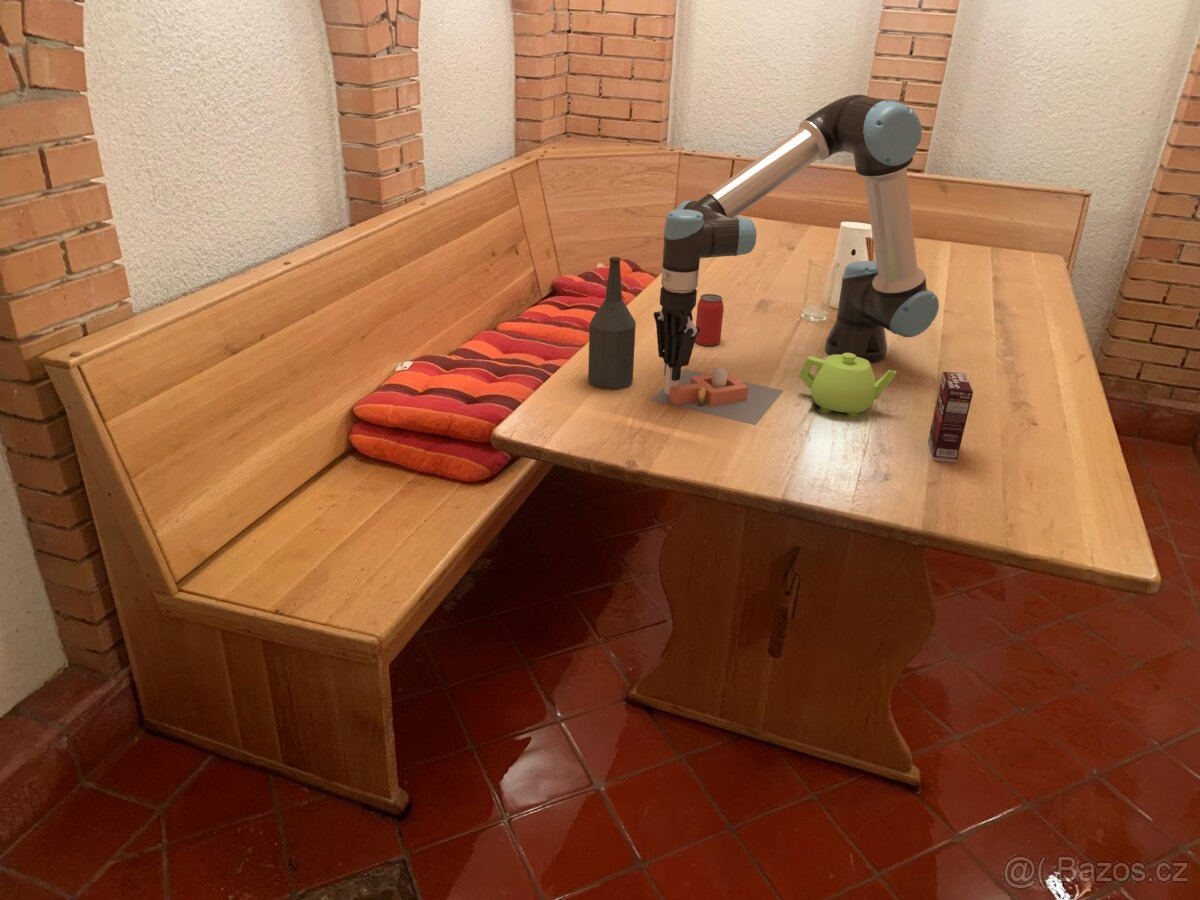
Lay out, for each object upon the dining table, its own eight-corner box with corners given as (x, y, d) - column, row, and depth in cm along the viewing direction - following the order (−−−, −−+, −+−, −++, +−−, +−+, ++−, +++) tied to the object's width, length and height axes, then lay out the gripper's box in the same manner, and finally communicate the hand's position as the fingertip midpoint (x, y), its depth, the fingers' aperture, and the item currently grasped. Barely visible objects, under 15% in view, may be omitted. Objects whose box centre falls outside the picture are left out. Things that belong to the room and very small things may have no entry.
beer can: (719, 348, 230) (723, 302, 225) (693, 345, 231) (696, 300, 226) (721, 338, 236) (725, 294, 230) (695, 336, 237) (699, 292, 231)
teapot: (889, 403, 203) (900, 350, 198) (885, 428, 192) (896, 373, 186) (800, 389, 209) (807, 337, 203) (791, 412, 198) (798, 358, 192)
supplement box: (926, 441, 187) (942, 370, 180) (950, 444, 186) (967, 373, 179) (931, 461, 180) (948, 387, 172) (957, 464, 179) (975, 390, 171)
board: (782, 396, 205) (786, 365, 201) (754, 431, 189) (758, 398, 185) (684, 374, 214) (686, 345, 211) (649, 406, 198) (651, 374, 195)
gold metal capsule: (705, 404, 196) (707, 387, 195) (703, 407, 195) (704, 390, 193) (698, 402, 197) (700, 385, 195) (696, 405, 196) (697, 388, 194)
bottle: (600, 398, 201) (604, 266, 187) (580, 382, 209) (583, 253, 194) (640, 391, 205) (647, 261, 191) (619, 375, 213) (625, 249, 199)
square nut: (725, 383, 207) (726, 371, 205) (746, 399, 199) (748, 387, 198) (662, 394, 200) (662, 381, 199) (682, 411, 193) (683, 398, 192)
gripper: (645, 281, 190) (639, 384, 201) (684, 299, 180) (675, 406, 191) (673, 276, 194) (666, 378, 205) (713, 293, 184) (703, 399, 195)
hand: (671, 391), depth 198 cm, fingers closed
